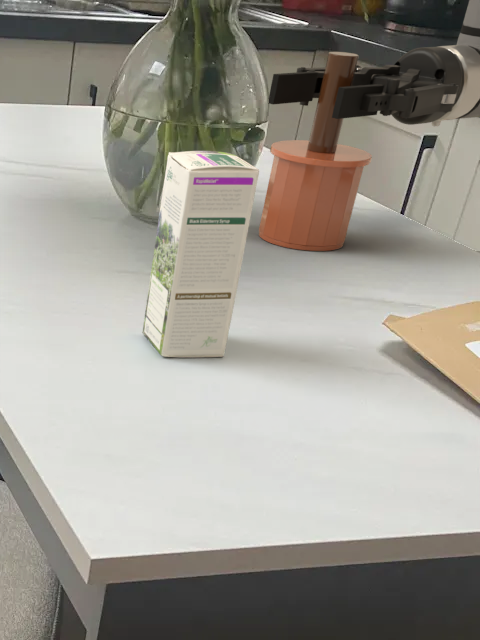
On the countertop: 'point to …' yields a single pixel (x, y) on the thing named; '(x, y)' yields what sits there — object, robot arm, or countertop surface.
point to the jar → (308, 205)
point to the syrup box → (198, 252)
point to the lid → (327, 123)
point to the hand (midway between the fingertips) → (305, 96)
